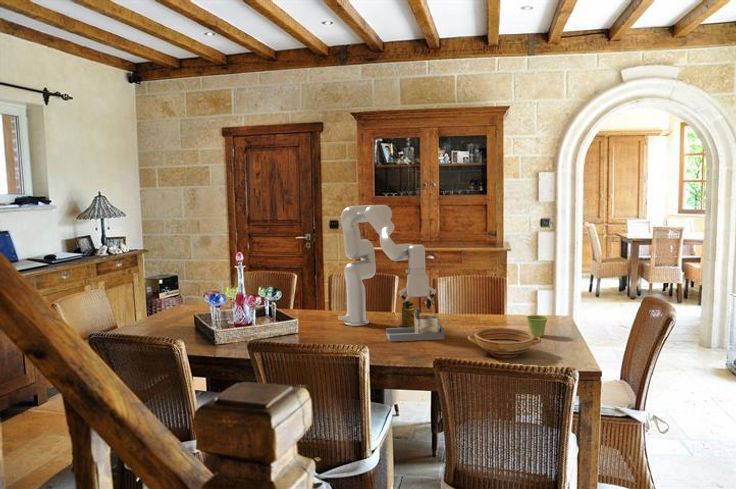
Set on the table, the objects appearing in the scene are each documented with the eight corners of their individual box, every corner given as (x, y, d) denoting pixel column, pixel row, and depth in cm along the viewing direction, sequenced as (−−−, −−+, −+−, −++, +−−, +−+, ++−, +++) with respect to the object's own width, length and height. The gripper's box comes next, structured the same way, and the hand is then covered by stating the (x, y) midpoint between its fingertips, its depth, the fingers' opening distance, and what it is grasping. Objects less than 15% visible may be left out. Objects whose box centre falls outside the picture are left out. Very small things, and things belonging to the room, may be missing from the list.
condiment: (417, 326, 286) (417, 303, 285) (404, 329, 281) (403, 305, 280) (408, 324, 292) (408, 300, 291) (395, 326, 287) (394, 302, 286)
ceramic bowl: (467, 361, 229) (467, 341, 228) (467, 344, 253) (467, 326, 252) (545, 363, 224) (545, 343, 223) (537, 346, 248) (537, 328, 247)
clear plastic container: (417, 336, 263) (417, 310, 261) (414, 332, 271) (414, 306, 270) (439, 336, 264) (439, 309, 262) (435, 331, 272) (435, 305, 271)
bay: (389, 341, 260) (389, 330, 259) (386, 334, 272) (385, 324, 271) (444, 339, 262) (444, 328, 262) (438, 332, 274) (438, 322, 274)
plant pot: (546, 339, 259) (547, 320, 259) (525, 337, 263) (525, 319, 262) (548, 334, 268) (548, 315, 267) (527, 332, 271) (527, 314, 270)
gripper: (399, 273, 259) (400, 311, 261) (437, 272, 261) (438, 309, 263) (397, 271, 267) (398, 308, 268) (434, 270, 269) (434, 306, 270)
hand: (417, 308), depth 265 cm, fingers open, 9 cm apart
